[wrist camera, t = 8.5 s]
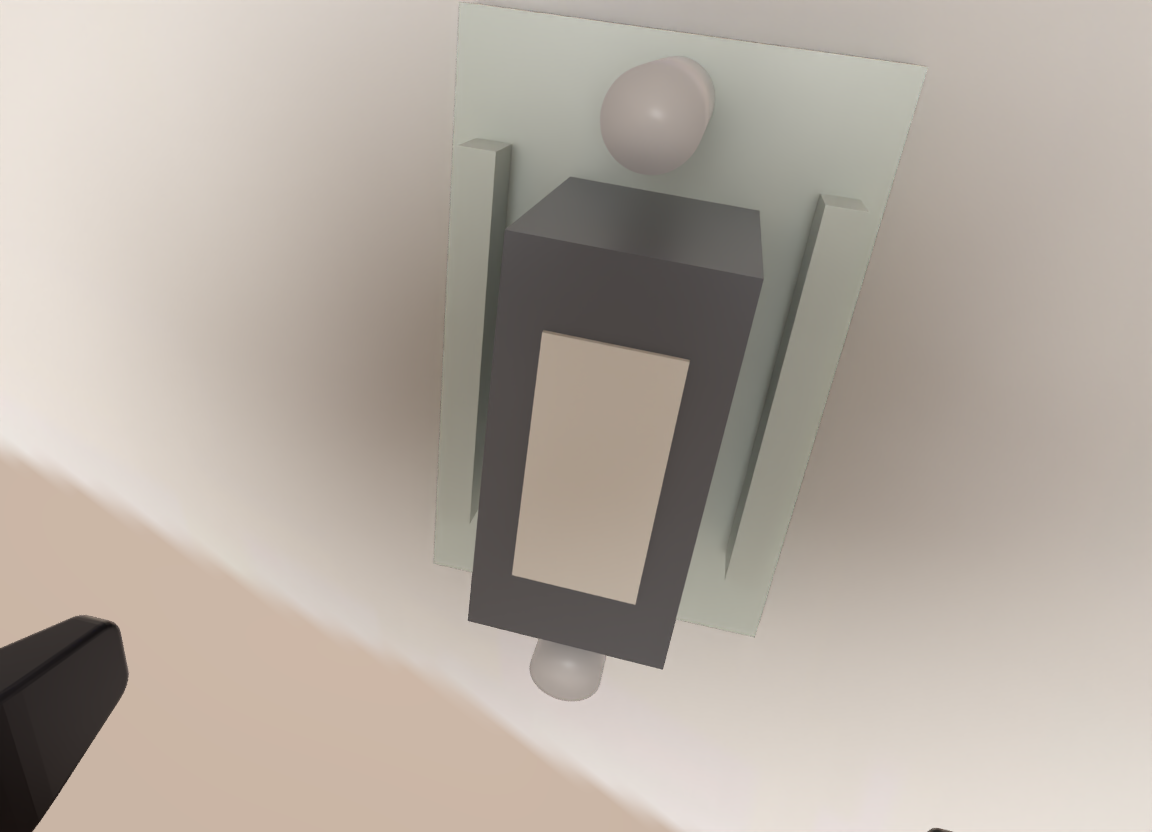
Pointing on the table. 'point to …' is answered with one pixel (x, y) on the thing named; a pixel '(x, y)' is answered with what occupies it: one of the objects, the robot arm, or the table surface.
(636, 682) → the table surface
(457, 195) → the pegged rail plate
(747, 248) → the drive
